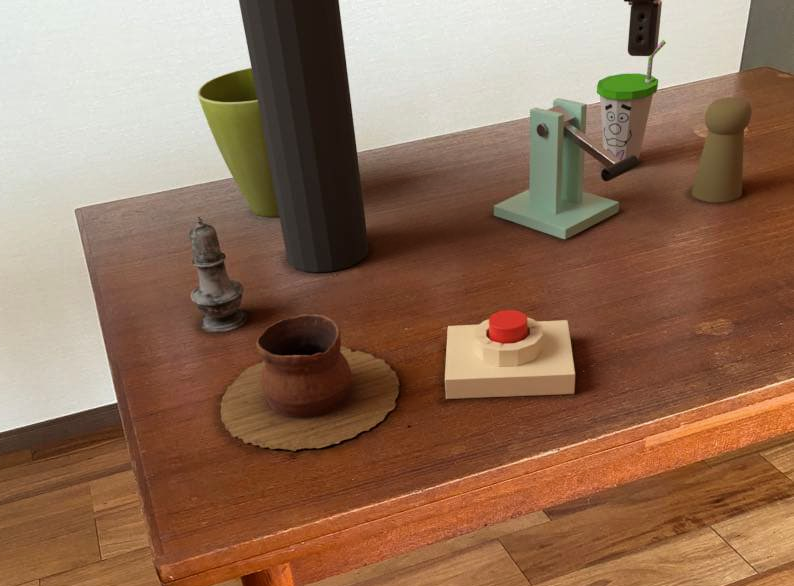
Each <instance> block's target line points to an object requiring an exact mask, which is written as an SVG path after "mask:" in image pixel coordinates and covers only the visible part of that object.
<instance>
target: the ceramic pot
mask: <svg viewBox="0 0 794 586" xmlns="http://www.w3.org/2000/svg"><path fill="white" fill-rule="evenodd" d="M341 341H342V340H341V329H340V326H339V325H338V324H337V323H336V321H334V320H333V319H331V318H329V317H327V316H326V315H322V314H317V313H315V314H308V313H301V314H299V315H297V316H292V317H287V318H285V319H281V320H279V321H276V322H273V323H272V324H270V325H269V326H267V327H265V329H264V331H262V332H261V334H260V335H259V336H258V337H257V339H256V342H255V348H256V351H257V353H258V354H259V356H260V357H261V358H262V360H263V361H261V362H258V363H255V365H253V366H249V367H247V368H246V369H245V370H244V371H242V372H241V373H240V374H239V376H238V377H237V378H236V379H235V380H234V381H233V382H232V384H231V385H229V386H228V387H227V389H226V391H225V393H224V395H223V396H222V398H221V399H222V400H221V402H220V407H221V408H220V412H219V414H220V416H221V418H220V419H221V422H222V423H223V425H224V429H225V430H226V431H228V432H229V434H230V435H231V437H232V438H237V440H239V439H240V440H242V442H244V444H249V443H250V444H252V446H259V447H260V448H262V449H265V448H268V449H269V450H275V449H281V450H289V451H292V452H296V451H297V450H302V449H322V448H325V447H329V446H332V445H336V444H340V442H342V441H345V440H349V439H352V438H355V437H357V435H358V434H360V433H362V432H368V431H370V429H371V428H375V427H376V425H377V424H379V423H380V422H381V423H382V422H383V421H384V420H385V417H386V416H387V415H388V414H389V412H391V411H394V410H395V408H396V406H397V403H396V399H398V396H399V393H400V388H399V387H400V386H401V385H400V381H399V377H398V375H397V372H396V371H395V370H393V369H392V368H391V365H390V364H388V363H386V362H385V360H384V359H381V358H379V357H376V356H373V355H372V354H371V353H365V352H364V351H359V349H358V350H356V351H352V349H351V348H350V347H346V346H343V345H342V346H341V344H342V343H341Z"/></svg>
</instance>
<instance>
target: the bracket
mask: <svg viewBox="0 0 794 586" xmlns="http://www.w3.org/2000/svg"><path fill="white" fill-rule="evenodd" d="M557 105H560V106H561V107H562V108H564V109H565V110H566V111H568V112H569V113H571V114H572V115H573V116H575V120H574V123H573V126H574V127H575V128H577V129H578V130H580V131H581V132H582V133H584V134H585V135H586V132H587V131H586V130H587V129H586V128H587V112H588V111H587V110H588V109H587V108H588V104H587V103H584V102H580V101H575V100H570V99H565V98H561V97H557V98H555V99H553V100H552V108H553V107H555V106H557ZM563 130H564V114H562V113H558V112H553V111H549V110H548V109H545V108H540V107H533V108H531V109H530V110H529V183H528V185H529V186H528V189H526V190H523V191H522V192H520V193H518V194H515V195H514V196H511V197H509V198H507V199H505V200H503V201H501V202H499V203H496V204H495V205H493V216H494V217H497V218H501V219H502V220H503V219H504V220H506V221H509V222H512V223H515V224H518V225H520V226H524V227H527V228H530V229H532V230H535V231H538V232H541V233H544V234H547V235H551V236H554V237H556V238H559V239H562V240H565V241H566V240H568V239H569V238H571V237H573V236H575V235H577V234H579V233H581V232H583V231H585V230H587V229H589V228H590V227H592V226H594V225H596V224H599V223H600V222H602V221H604V220H606V219H608V218H609V217H612V216H614V215H615V214H617V213H619V211H620V202H619V201H617V200H614V199H611V198H608V197H604V196H600V195H597V194H594V193H590V192H586V191H584V173H585V171H584V170H585V154H586V151H584V150H583V149H582V148H580V147H579V146H578V145H576V144H575V143H574V142H572V141H571V140H569V139H568V138H567V137H565V138H563Z"/></svg>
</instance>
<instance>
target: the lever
mask: <svg viewBox="0 0 794 586" xmlns="http://www.w3.org/2000/svg"><path fill="white" fill-rule="evenodd" d="M547 110H549V111H553V112H558V113H562V114H564V130H563V138H565V137H567V138H568V139H569V140H571V141H572V142H574V143H575V144H576V145H578V146H579V147H580V148H582V149H583V150H584V151H585V153H587V154H588V155H590V156H591V157H593V159H595V160H597V161H598V162H599V163H601V164H602V165H603V166H605V168H603V169H602V170H601V172H600V177H601V180H603V181H604V182H610V181H612V180H614V179H616V178H618V177H620V176H622V175H624V174H625V173H628V172H630V171H632V170H634V169H636V168H637V167H638V166H639V160H638V158H637V157H636V156H634V155H631V156H629V157H627V158H625V159H623V160H619V159H618V158H617V157H615V156H614V155H612V154H611V153H610V152H608V151H607V150H606V149H604V148H603V146H602V145H600V144H598V143H597V142H596V141H595V140H593V139H592V138H591V137H589V136H588V135H586V133H585V134H584V133H582V132H581V131H580V130H578V129H577V128H575V127H574V126H573V123H574V120H575V116H573V115H572V114H571V113H569V112H568V111H566V110H565V109H564V108H562V107H561V106H560V105H557V106H555V107H553V106H552V107H549V108H548V109H547Z"/></svg>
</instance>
